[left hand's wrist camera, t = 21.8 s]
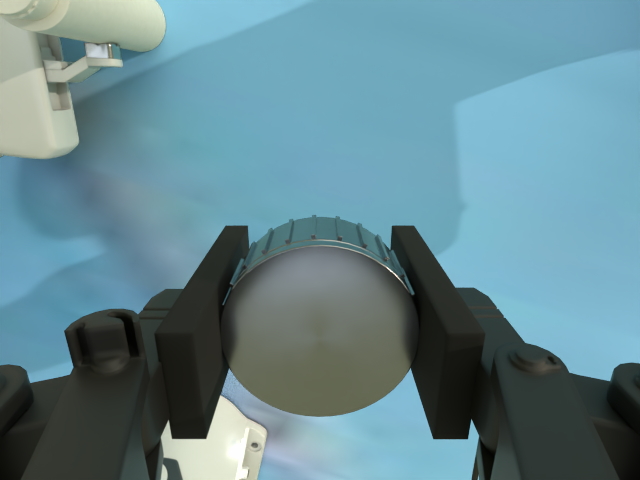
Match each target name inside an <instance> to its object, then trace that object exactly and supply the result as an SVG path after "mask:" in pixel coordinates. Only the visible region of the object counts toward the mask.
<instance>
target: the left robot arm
mask: <svg viewBox="0 0 640 480" xmlns="http://www.w3.org/2000/svg"><path fill="white" fill-rule="evenodd" d="M392 250H394V252H395V254H396V256H397V258H398V261H399V263H400V265H401V267H402V268H403V269H404V271H405V273H406V276H407V278H408V280H409V282H410V284H411V287H412V289H413V291H414V293H415V296H416V297H415V298H413V299H414V301H415V304H416V306H417V310H418V314H419V319H420V334H419V344H418V351H417V354H416V357H415V359H414V362H413V364H412V366H411V371H412V374H413V377H414V380H415V383H416V386H417V389H418V393H419V396H420V399H421V402H422V405H423V408H424V411H425V414H426V418H427V421H428V424H429V427H430V430H431V433H432V436H433V439H468V435H469V429H470V423H471V419H472V421H473V423H474V425H475V428H476V430H477V432H478V434H479V440H478V446H477V451H476V457H475V463H474V468H473V474H472V480H477V479H478V474H479V480H640V364H639V363H625V364H620V365H619V366H617V367H616V368H615V369H614V371H613V374H612V377H611V380H610V381H606V380H601V379H596V378H591V377H586V376H580V375H576V374H572V373H569V371H568V369H567V367H566V366H565V364H564V363H563V362H562V361H561V359H560V358H558V357H557V356H555V355H554V354H553V353H551V352H550V351H548V350H545V349H543V348H541V347H538V346H536V345H531V344H527V343H525V342H524V341H523V340H522V338H521V337H520V336H519V335H518V333H517V332H516V331H515V329H514V328H513V327H512V326H511V324H510V323H509V322H508V321H507V319H506V318H504V316H503V314H502V313H501V312H500V311H499V309H497V307H496V306H495V304H494V303H493V302H492V301H491V299H490V298H489V297H488V296H487V295H485V294H483V293H482V292H480V291H478V290H477V289H475V288H455V287H454V285H453V284H452V282H451V281H450V279H449V278H448V276H447V275H446V273H445V272H444V270H443V269H442V267H441V266H440V264H439V263H438V261H437V260H436V258H435V257H434V255H433V254H432V252H431V251H430V249H429V248H428V246H427V245H426V243H425V242H424V240H423V239H422V237H421V236H420V234H419V233H418V231H417V230H416V228H415V227H414V226H392V234H391V249H390V251H392ZM248 251H249V238H248V226H225V228H224V229H223V231H222V232H221V234H220V235H219V237H218V238H217V240H216V241H215V243H214V244H213V246H212V247H211V249H210V250H209V252H208V253H207V255H206V256H205V258H204V259H203V261H202V262H201V264H200V265H199V267H198V268H197V270H196V271H195V273H194V274H193V276H192V277H191V279H190V280H189V282H188V283H187V285H186V286H185V288H184V289H165V290H164V291H162V292H160V293H159V294H157V295H156V296H154V297H152V298H151V299H150V301H149V302H148V303H147V304H146V306H145V307H144V308H143V311H141V312H140V313H139V315H138V314H136V313H135V312H134V311H131V310H126V309H108V310H103V311H98V312H95V313H92V314H89V315H86V316H84V317H82V318H80V319H78V320H77V321H75V322H73V323H71V324H70V326H69V327H68V328H67V329H66V330H65V331H64V332H65V336H66V340H67V344H68V348H69V351H70V355H71V359H72V363H73V367H74V368H73V370H72V372H71V374H70V375H67V376H63V377H58V378H53V379H48V380H43V381H38V382H34V383H30V381H29V378H28V375H27V372H26V370H25V369H23V368H22V367H21V366H16V365H1V366H0V480H161V474H162V466H163V457H164V453H163V446H162V440H161V436H162V433H163V431H164V429H165V427H166V425H167V422H168V420H169V425H170V431H171V437H172V439H207V435H208V432H209V429H210V426H211V423H212V420H213V417H214V414H215V410H216V407H217V404H218V401H219V398H220V395H221V392H222V389H223V385H224V382H225V379H226V376H227V373H228V370H229V366H228V364H227V362H226V360H225V358H224V354H223V351H222V346H221V337H220V318H221V313H222V309H223V302H224V300H225V298H226V296H227V293H228V291H229V289H230V287H229V284H230V281H231V279H232V277H233V275H234V273H235V271H236V268H237V266H238V264H239V262H240V260H241V258H242V259H244V258H245V257H246V255H247V254H248Z"/></svg>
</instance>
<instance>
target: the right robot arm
mask: <svg viewBox="0 0 640 480" xmlns="http://www.w3.org/2000/svg"><path fill="white" fill-rule="evenodd" d="M84 44H85V51H86V56H84V57H82V58H81V59H79V60H78V61H76V62H67V61H64V56H63V51H62V46H61V40H60V37H59V36H54V35H48V34H43V33H38V32H32V31H27V30H24V29H21V28H18V27H16V26H14V25H12V24H10V23H9V22H8V21H6V20H5V19H4V18H2V17H1V16H0V158H1V157H3V156H4V155H6V156H13V157H21V158H32V159H50V158H56V157H60V156H63V155H66V154H68V153H70V152H71V151H72V150H73V149H74V148H75V147H76V146H77V145H78V144H79V137H78V131H77V126H76V121H75V115H74V110H73V105H72V99H71V94H70V89H69V83H68V82H83V81H84V80H86V79H87V78H88V77H90V76H91V75H93V74H94V73H96V72H97V71H98V70H100V69H101V67H123V63H122V56H121V49H120V45H115V44H112V43H100V44H97V43H84ZM266 438H267V431H266V429H265V428H264V427H262V426H261V425H259V424H257V423H255V422H254V421H251V420H249V419H247V418H246V417H245V416H244V415H243V414H242V413H241V412H240V411H239V410H238V409H237V408H236V407H235V406H234V405H233V404H232V403H231V402H230V401H229V400H227V399H226V398H224V397H223V396H221V395H220V398H219V401H218V404H217V407H216V410H215V414H214V417H213V420H212V423H211V426H210V429H209V432H208V435H207V439H172V437H171V431H170V425H169V420H168V422H167V425H166V427H165V429H164V431H163V433H162V436H161V440H162V446H163V453H164V457H163V466H162V474H161V480H257V478H258V474H259V469H260V465H261V461H262V456H263V452H264V447H265V443H266Z"/></svg>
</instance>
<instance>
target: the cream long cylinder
mask: <svg viewBox="0 0 640 480" xmlns="http://www.w3.org/2000/svg"><path fill="white" fill-rule="evenodd" d="M0 16H1V17H2V18H4V19H5V20H6V21H8V22H9V23H10V24H12V25H14V26H16V27H18V28H21V29H24V30H27V31H32V32H38V33H43V34H48V35H54V36H59V37H64V38H70V39H75V40H80V41H85V42H91V43H97V44H100V43H112V44H115V45H120V48H123V49H128V50H133V51H139V52H145V51H150V50H152V49H154V48H156V47H157V46H158V45H159V44H160V43H161V41H162V39H163V37H164V34H165V29H166V22H165V17H164V14H163V11H162V9H161V7H160V6H159V4H158V3H157V2H156V1H155V0H0Z"/></svg>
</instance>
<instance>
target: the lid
mask: <svg viewBox="0 0 640 480" xmlns="http://www.w3.org/2000/svg"><path fill="white" fill-rule="evenodd" d="M229 287H230V289H229V291H228V293H227V296H226V298H225V300H224V302H223V309H222V313H221V318H220V337H221V346H222V351H223V354H224V358H225V360H226V362H227V364H228V366H229V368H230V370H231V371H232V373H233V374H234V376H235V377H236V379H237V380H238V381H239V382H240V383H241V384H242V385H243V387H245V388H246V389H247V390H248V391H249V392H250V393H251V394H253V395H254V396H255V397H257V398H258V399H260V400H261V401H263V402H265V403H267V404H269V405H270V406H272V407H275V408H277V409H280V410H283V411H286V412H289V413H293V414H298V415H304V416H316V417H323V416H335V415H342V414H346V413H350V412H354V411H357V410H360V409H362V408H365V407H367V406H369V405H371V404H373V403H375V402H377V401H378V400H380V399H381V398H383V397H385V396H386V395H387V394H388V393H390V392H391V391H392V390H393V389H394V388H395V387H396V386H397V385H398V384H399V383H400V382H401V381H402V380H403V378H404V377H405V375H406V374H407V373H408V371H409V369H410V368H411V366H412V364H413V362H414V359H415V357H416V354H417V351H418V344H419V334H420V319H419V314H418V310H417V306H416V304H415V301H414V299H413V298H415V297H416V296H415V293H414V291H413V289H412V287H411V284H410V282H409V280H408V278H407V276H406V273H405V271H404V269H403V268H402V267H401V265H400V263H399V261H398V258H397V256H396V254H395V252H394V250H392V251H390V250H389V248H388V247H387V246H386V245H385V244H384V243H383V242H382V239H381V237H380V236H379V235H378V234H377V236H375V235H374V234H372V233H371V232H369V231H368V230H367V229H365V228H363V227H362V224H360V223H358V224H354V223H351V222H348V221H345V220H341V219H340V217H338V216H336V218H327V217H316V215H312V217H311V218H304V219H299V220H295V221H293V219H290V220H289V223H286V224H284V225H281V226H279V227H277V228H275V229H274V230H273V229H272V228H270V229H269V230H268V233H267V234H266V235H265V236H263V237H262V238H261V239H260V240H259V241H258V242H257V243H256V242H253V243H252V244H251V247H250V249H249V251H248V254H247V255H246V257H245V258H244V259H242V258H241V260H240V262H239V264H238V266H237V268H236V271H235V273H234V275H233V277H232V279H231V281H230V284H229Z"/></svg>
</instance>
